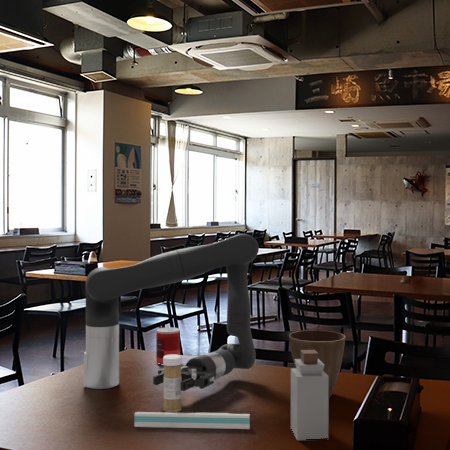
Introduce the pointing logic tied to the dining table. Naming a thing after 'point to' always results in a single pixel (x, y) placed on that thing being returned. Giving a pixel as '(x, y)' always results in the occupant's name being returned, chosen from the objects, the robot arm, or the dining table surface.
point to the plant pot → (321, 350)
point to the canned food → (167, 342)
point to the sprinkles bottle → (172, 383)
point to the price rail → (192, 420)
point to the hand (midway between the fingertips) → (167, 383)
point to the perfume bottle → (309, 397)
